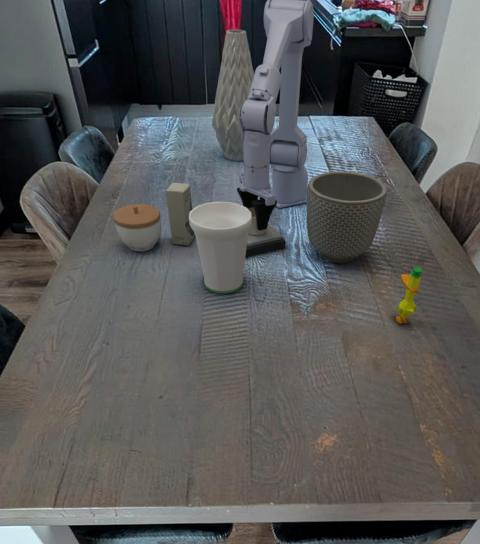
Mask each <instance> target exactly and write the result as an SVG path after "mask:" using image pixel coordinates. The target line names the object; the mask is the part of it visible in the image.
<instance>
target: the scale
mask: <svg viewBox="0 0 480 544" xmlns="http://www.w3.org/2000/svg"><path fill="white" fill-rule="evenodd" d="M286 241H287V240H286V239H285V238H283V235H282V234H281V233H280V232H278V231H277V230H276V229H275V228H274V227H273V226H272V225H271V224H269V223H268V226H267V231H266V232H265V233H264V234H262V235H258V236H254V235H250V234H248V237H247V246H246V256H245V259H246V258H250V257H254V256H258V255H262V254H267V253H270V252H275V251H279V250H282V249H283V250H284V249H286V245H287V243H286Z"/></svg>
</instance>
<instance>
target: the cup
mask: <svg viewBox="0 0 480 544" xmlns="http://www.w3.org/2000/svg"><path fill="white" fill-rule="evenodd" d="M251 221H252V217H251V212H250V211H249V210H248V209H247V208H246V207H244V206H243V204H242V205H241V204H240V203H235V202H230V201H212V202H205V203H202V204H199V205H197V206H195V207H194V208H192V211H190V213H189V223H190V227H191V228H192V230H193V231H194V233H195V239H196V244H197V250H198V255H199V259H200V264H201V269H202V274H203V280H204V286H205V288H206V289H207V290H208V291H210V292H212V293H216V294H231V293H234V292H237V291H239V290H240V289H241V288H242V286H243V285H244V283H243V282H244V272H245V264H246V258H245V256H246V246H247V237H248V231H249V229H250V228H251Z"/></svg>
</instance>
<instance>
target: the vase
mask: <svg viewBox="0 0 480 544" xmlns="http://www.w3.org/2000/svg"><path fill="white" fill-rule="evenodd" d="M225 32H226V33H225V35H224V43H223V48H222V56H221V63H220V71H219V74H218V81H217V87H216V93H215V99H214V106H213V111H212V113H211V127H212V128H213V130H214V131H215V137H216V139H217V142H218V145H219V147H220V148H221V150H222V152H223V153H222V154H223V155H224V157H225V158H226V159H227V160H230V161H234V162H241V161H242V162H244V141H243V140H242V138H241V129H240V126H239V111H240V106H241V104H242V102H243V101H244V102H245V101H246V99H248V95H249V92H250V88H251V85H252V81H253V78H254V74H255V71H254V68H253V64H252V63H253V62H252V57H251V51H250V45H249V41H248V36H247V31H246V30H243V29H238V28H237V29H228V30H226V31H225Z"/></svg>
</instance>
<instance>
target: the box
mask: <svg viewBox="0 0 480 544" xmlns="http://www.w3.org/2000/svg"><path fill="white" fill-rule="evenodd" d="M165 197H166V203H167V211H168V219H169V226H170V235H171V242H172V244H174V245H179V246H189V245H190V244H191V243H192V242H193V240H194V239H195V238H196V235H195V232H194V231H193V230H192V228H191V227H190V223H189V213H190V211H192V210H193V204H192V193H191V184H189V183H182V182H172V183H171V184H170V185H169V186H168V187H167V188H166V189H165Z"/></svg>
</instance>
